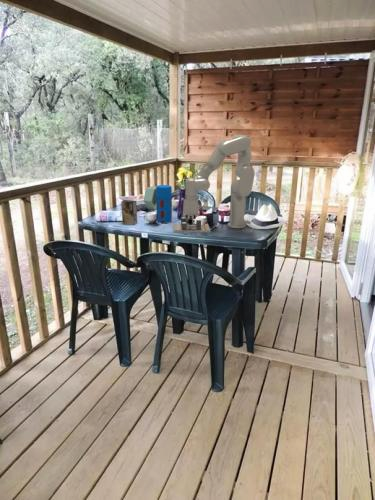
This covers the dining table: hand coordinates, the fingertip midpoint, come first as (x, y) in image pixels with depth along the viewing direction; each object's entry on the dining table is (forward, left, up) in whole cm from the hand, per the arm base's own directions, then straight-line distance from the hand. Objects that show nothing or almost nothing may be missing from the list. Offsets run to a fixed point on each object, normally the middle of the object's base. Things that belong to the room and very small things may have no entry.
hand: (190, 224), depth 236 cm
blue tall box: (+17, -20, -3) cm, 27 cm away
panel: (-1, 0, -3) cm, 3 cm away
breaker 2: (+4, +6, -1) cm, 7 cm away
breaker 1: (+4, -6, -1) cm, 8 cm away
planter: (+25, -57, -3) cm, 63 cm away
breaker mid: (-6, 0, -1) cm, 6 cm away
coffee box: (+41, -14, -3) cm, 44 cm away
